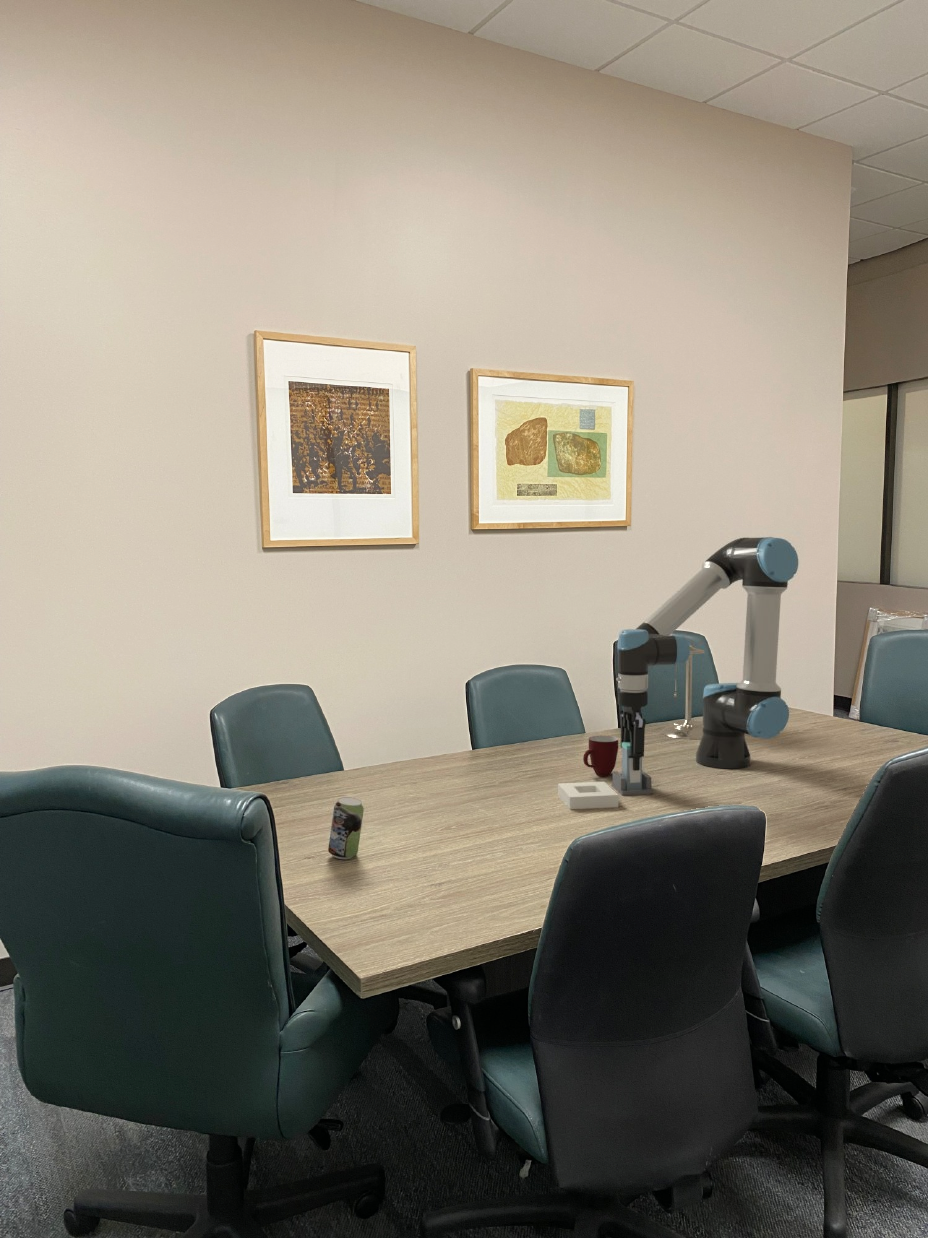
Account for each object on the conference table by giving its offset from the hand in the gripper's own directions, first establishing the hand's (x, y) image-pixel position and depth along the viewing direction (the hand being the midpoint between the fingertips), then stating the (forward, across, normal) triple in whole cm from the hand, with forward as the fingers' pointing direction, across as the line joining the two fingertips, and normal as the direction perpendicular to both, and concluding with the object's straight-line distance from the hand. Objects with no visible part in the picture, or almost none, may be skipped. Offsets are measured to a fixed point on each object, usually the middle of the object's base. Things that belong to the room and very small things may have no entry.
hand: (631, 779), depth 226 cm
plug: (+3, 0, 0) cm, 3 cm away
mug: (+3, -15, -4) cm, 16 cm away
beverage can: (+3, +38, -73) cm, 82 cm away
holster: (+3, 0, 0) cm, 3 cm away
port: (+3, +8, -14) cm, 16 cm away
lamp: (+3, -62, +37) cm, 72 cm away
